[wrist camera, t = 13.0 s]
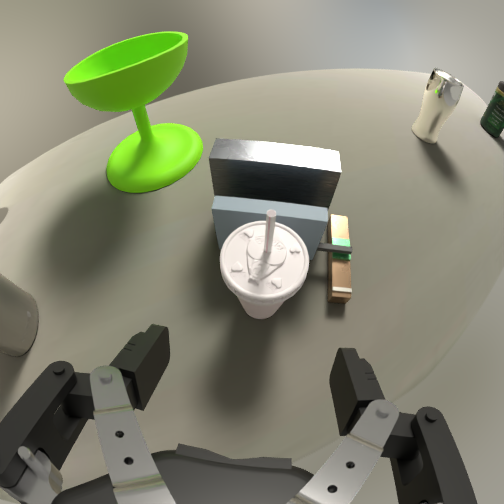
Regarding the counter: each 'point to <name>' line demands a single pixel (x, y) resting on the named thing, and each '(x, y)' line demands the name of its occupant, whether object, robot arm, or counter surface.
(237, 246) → the smoothie
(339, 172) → the gauge frame
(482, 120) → the coffee jar
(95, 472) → the counter surface
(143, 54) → the wineglass
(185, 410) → the counter surface
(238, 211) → the gauge paddle
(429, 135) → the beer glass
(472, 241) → the counter surface
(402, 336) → the counter surface
